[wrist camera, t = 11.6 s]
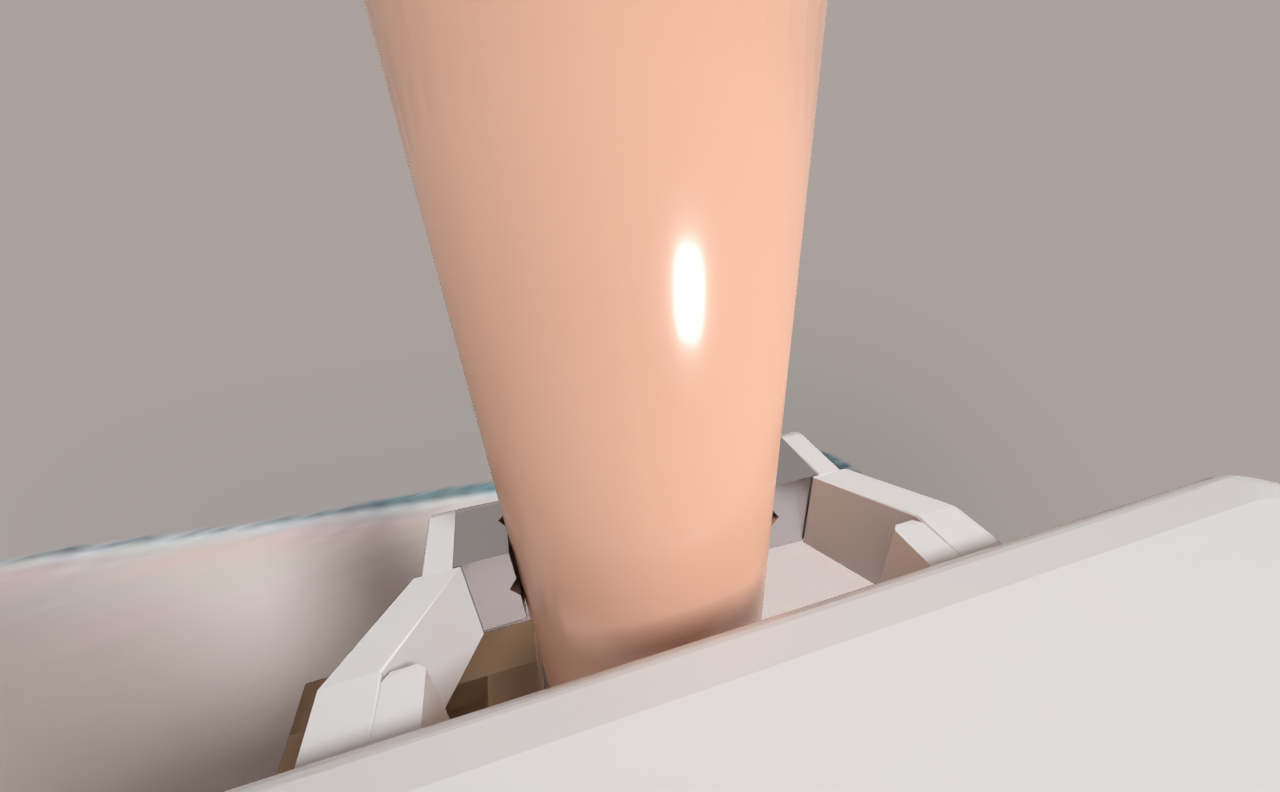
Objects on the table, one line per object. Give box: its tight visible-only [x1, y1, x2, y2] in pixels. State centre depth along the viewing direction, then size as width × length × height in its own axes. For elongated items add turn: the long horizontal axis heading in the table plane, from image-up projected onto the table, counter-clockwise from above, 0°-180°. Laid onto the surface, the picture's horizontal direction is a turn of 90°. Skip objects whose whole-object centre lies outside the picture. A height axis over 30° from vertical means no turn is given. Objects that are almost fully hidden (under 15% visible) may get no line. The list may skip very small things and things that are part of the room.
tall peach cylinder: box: [364, 0, 828, 688], centre depth 11 cm, size 5×5×22 cm
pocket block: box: [278, 620, 545, 774], centre depth 23 cm, size 12×12×3 cm
